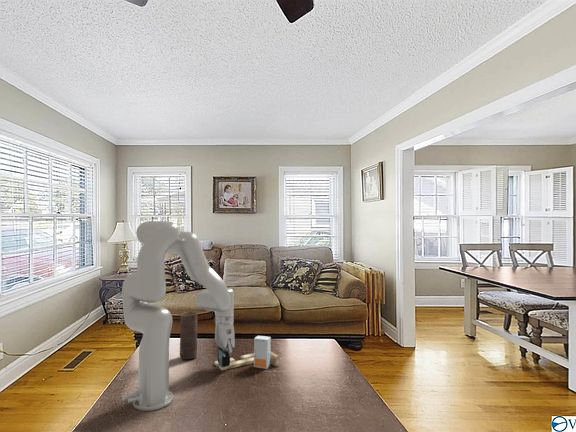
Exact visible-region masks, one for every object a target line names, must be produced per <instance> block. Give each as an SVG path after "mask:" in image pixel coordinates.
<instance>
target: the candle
mask: <svg viewBox="0 0 576 432" xmlns="http://www.w3.org/2000/svg"><path fill="white" fill-rule="evenodd" d="M179 327H180V330H179V331H180V333H179V335H180V337H179V358H180V359H184V360H186V359H188V360H189V359H193V358H197V356H198V312H197V310H195V311H184V312H182V313H181V314H180V326H179Z"/></svg>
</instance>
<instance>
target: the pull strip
mask: <svg viewBox="0 0 576 432" xmlns="http://www.w3.org/2000/svg"><path fill="white" fill-rule="evenodd" d="M226 351H228V350H225V352H226ZM222 357H223V349H221V350H219V366H218V369H219V370H220V371H225V370H230V369H234V368H237V367H242V366H246V365H252V364H254V357H253V358H248V359H244V360H241V359H239V360H235V362H230V365H229V366H225V367H223V366H222ZM270 365H272V366H274V367H279V366H280V356H279V355H278V354H276V353H275V352H273V351H271V350H270Z"/></svg>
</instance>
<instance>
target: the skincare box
mask: <svg viewBox="0 0 576 432" xmlns="http://www.w3.org/2000/svg"><path fill="white" fill-rule="evenodd" d="M271 341H272V337H271V336H265V335H257V336H255V337H254V339H253V353H254V363H253V368H259V369H266V370H268V369H269V367H270V366H271V363H270V351H271V349H272V348H271V347H272V346H271V345H272V344H271Z"/></svg>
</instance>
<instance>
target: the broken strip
mask: <svg viewBox="0 0 576 432" xmlns="http://www.w3.org/2000/svg"><path fill="white" fill-rule="evenodd" d="M253 357H254V352H252V353H248V354H244V355H240V356H239V358H240V359H239V360H244V359H248V358H253ZM235 361H236V360H235V358H233V357H230V362H235ZM214 366H216V367H218V368H219V363H218V360H215V361H214Z"/></svg>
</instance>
